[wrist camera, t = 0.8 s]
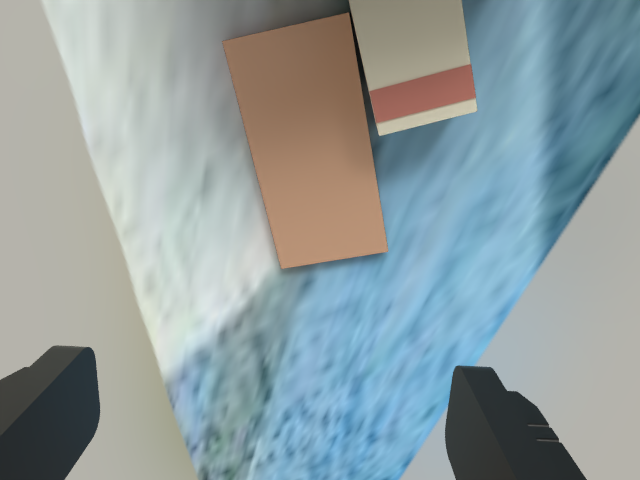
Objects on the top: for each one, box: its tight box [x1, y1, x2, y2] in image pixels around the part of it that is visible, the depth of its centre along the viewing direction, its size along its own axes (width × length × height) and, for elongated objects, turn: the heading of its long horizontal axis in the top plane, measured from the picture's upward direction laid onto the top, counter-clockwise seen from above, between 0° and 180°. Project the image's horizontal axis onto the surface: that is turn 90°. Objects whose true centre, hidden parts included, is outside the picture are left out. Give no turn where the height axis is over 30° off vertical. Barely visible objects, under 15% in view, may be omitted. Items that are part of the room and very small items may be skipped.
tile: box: [222, 12, 388, 269], centre depth 29 cm, size 14×7×1 cm, turn 11°
